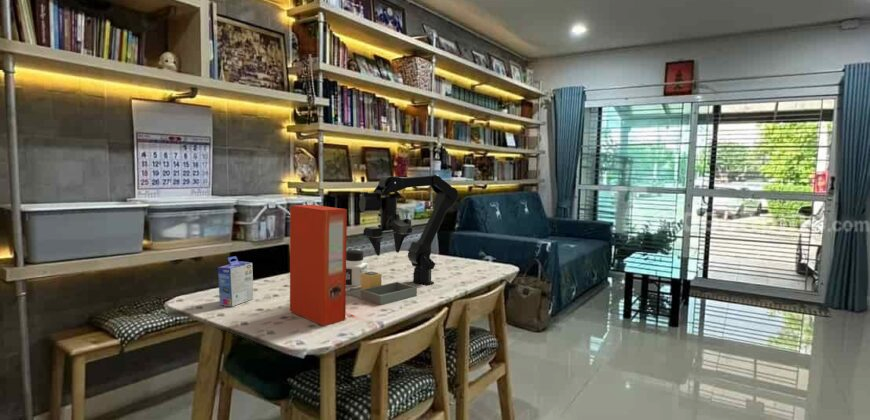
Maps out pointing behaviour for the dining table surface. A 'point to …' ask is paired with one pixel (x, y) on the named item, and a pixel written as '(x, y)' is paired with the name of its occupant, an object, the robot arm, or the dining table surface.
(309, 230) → the file binder
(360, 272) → the container
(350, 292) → the lid
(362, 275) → the block
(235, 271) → the ink cartridge box
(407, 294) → the case
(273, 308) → the dining table surface
